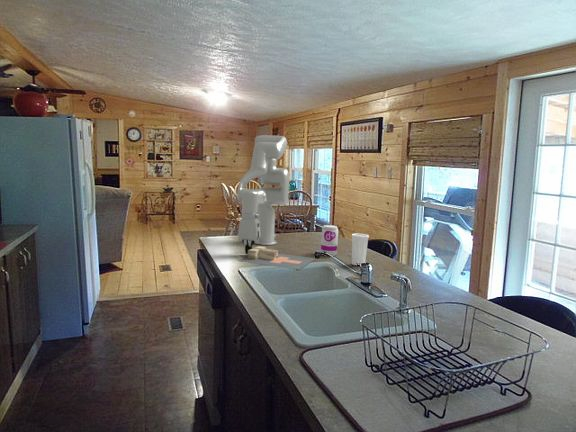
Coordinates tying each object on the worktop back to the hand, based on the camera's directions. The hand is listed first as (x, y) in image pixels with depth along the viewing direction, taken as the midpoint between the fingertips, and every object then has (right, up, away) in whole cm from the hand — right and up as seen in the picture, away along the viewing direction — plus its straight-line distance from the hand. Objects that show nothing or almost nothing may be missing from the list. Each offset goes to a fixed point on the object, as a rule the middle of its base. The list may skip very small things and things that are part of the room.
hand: (248, 253), depth 211 cm
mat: (+15, -3, -5) cm, 16 cm away
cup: (+52, -5, -7) cm, 53 cm away
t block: (+8, -2, -3) cm, 9 cm away
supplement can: (+40, -2, +10) cm, 41 cm away
